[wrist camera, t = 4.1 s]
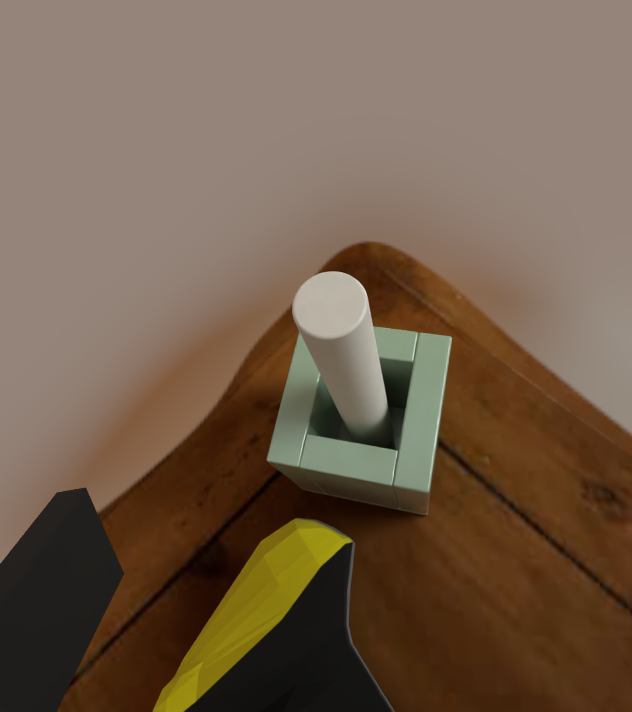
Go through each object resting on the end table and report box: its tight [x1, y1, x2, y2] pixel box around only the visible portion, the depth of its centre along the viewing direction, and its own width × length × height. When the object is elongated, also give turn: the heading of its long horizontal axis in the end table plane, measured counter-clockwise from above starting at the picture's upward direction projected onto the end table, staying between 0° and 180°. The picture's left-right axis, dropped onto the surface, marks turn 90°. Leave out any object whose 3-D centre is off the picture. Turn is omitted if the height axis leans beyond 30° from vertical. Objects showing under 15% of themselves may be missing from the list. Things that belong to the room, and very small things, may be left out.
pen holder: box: [266, 327, 452, 516], centre depth 22 cm, size 6×6×6 cm
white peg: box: [292, 272, 393, 448], centre depth 18 cm, size 2×2×13 cm
